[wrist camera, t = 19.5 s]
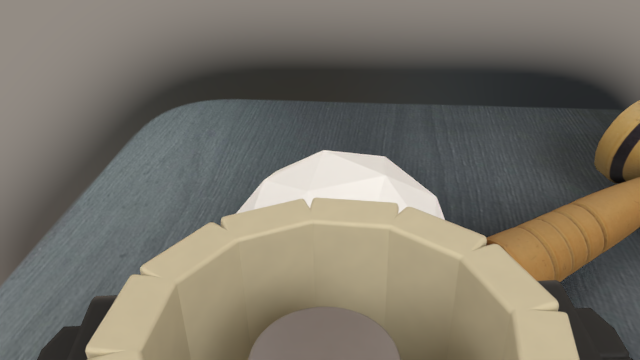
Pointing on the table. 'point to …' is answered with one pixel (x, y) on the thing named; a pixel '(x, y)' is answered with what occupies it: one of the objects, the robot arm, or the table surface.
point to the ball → (343, 183)
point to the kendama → (585, 211)
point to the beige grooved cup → (334, 287)
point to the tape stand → (324, 337)
